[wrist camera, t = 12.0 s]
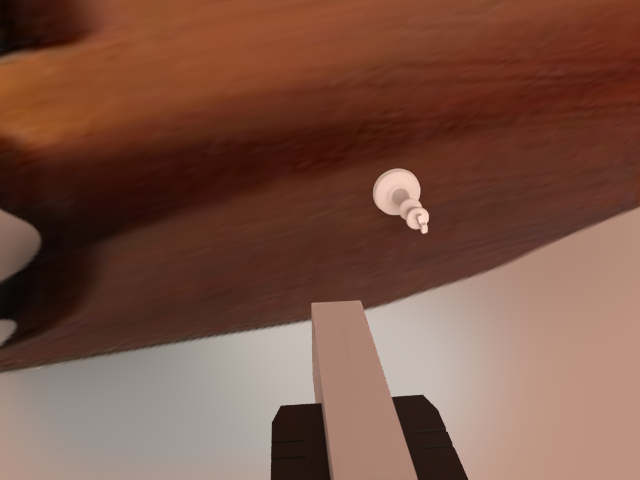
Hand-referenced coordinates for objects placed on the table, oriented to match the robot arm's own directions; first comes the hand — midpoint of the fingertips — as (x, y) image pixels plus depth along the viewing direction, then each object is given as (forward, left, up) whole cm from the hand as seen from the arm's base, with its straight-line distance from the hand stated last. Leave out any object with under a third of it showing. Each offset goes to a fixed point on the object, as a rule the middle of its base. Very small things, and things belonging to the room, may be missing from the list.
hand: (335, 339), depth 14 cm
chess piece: (+10, +6, -33) cm, 35 cm away
